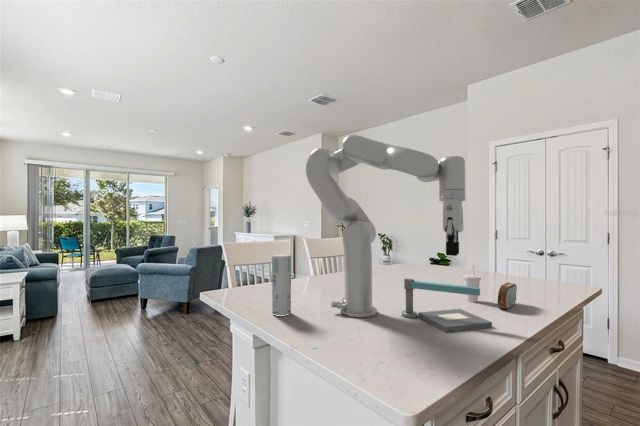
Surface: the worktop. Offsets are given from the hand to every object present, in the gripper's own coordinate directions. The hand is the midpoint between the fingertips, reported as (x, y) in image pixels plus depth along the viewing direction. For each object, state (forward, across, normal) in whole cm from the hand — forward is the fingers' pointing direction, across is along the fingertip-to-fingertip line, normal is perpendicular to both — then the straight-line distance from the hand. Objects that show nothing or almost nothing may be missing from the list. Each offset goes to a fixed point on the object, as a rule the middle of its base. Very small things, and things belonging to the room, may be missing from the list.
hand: (452, 254), depth 98 cm
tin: (+22, +28, -15) cm, 38 cm away
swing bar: (+12, -1, +4) cm, 13 cm away
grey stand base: (+21, 0, +3) cm, 21 cm away
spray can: (+21, -20, +52) cm, 60 cm away
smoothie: (+21, +30, -3) cm, 37 cm away
